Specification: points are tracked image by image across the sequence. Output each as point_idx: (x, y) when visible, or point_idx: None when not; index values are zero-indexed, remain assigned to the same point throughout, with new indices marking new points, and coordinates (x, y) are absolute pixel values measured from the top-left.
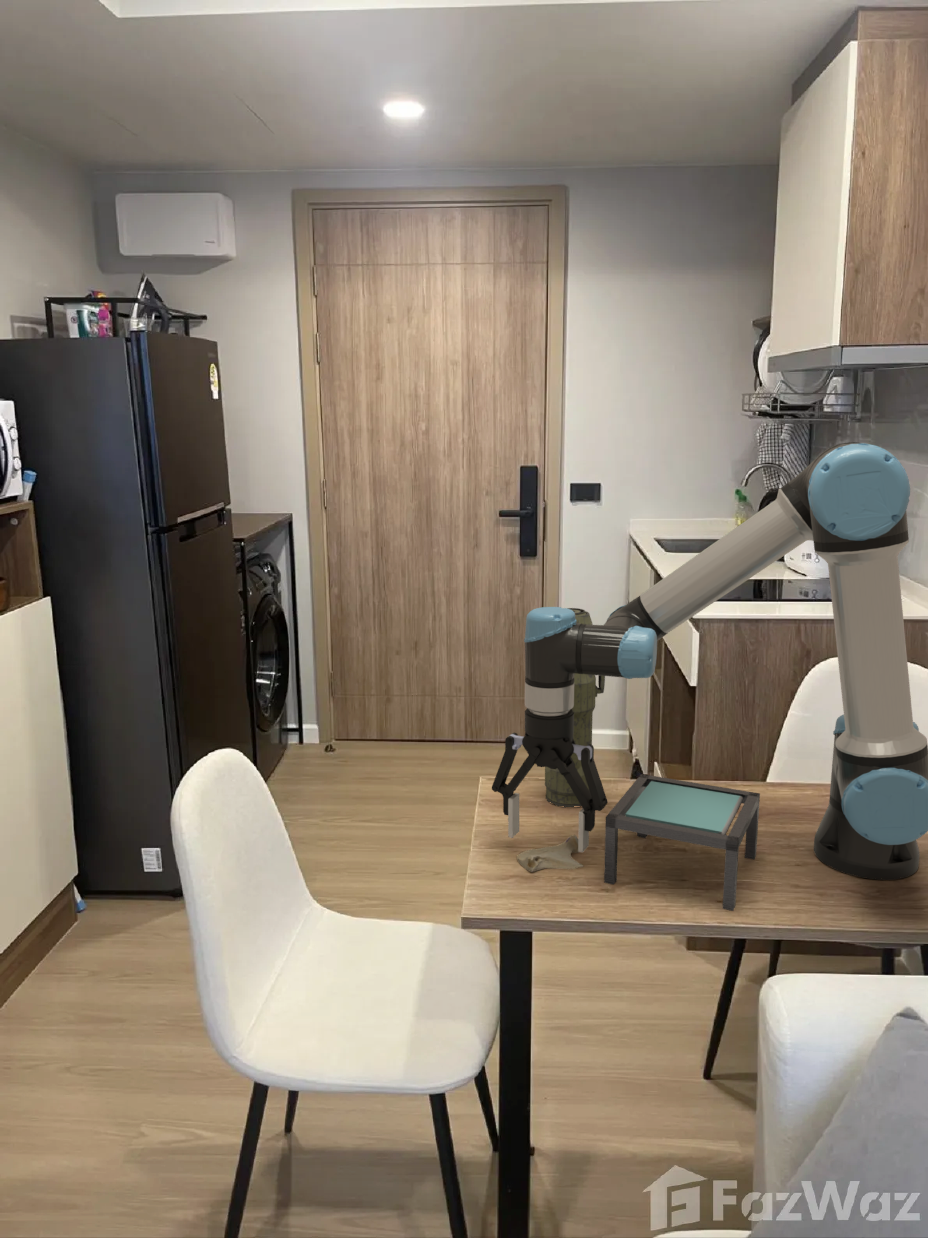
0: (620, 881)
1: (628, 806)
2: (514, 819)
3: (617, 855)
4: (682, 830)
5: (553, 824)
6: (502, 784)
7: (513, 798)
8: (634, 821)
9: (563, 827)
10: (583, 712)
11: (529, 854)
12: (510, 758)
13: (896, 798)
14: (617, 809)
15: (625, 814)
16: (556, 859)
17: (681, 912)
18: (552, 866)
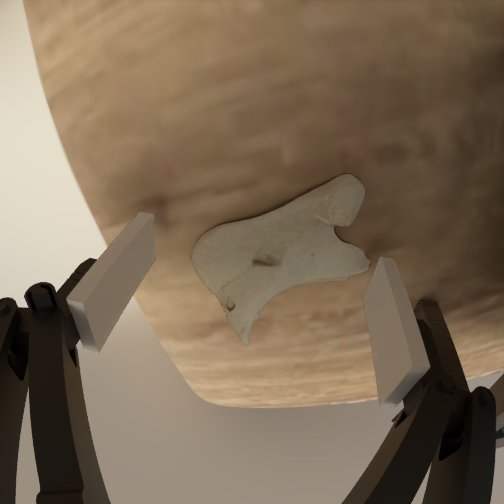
0: (443, 303)
1: None
2: (132, 282)
3: (454, 347)
4: None
5: (228, 8)
6: (23, 345)
7: (94, 344)
8: (501, 445)
9: (270, 19)
10: None
11: (221, 266)
12: (12, 489)
13: None
14: (496, 424)
15: (502, 431)
16: (300, 282)
17: (499, 355)
18: (292, 286)
